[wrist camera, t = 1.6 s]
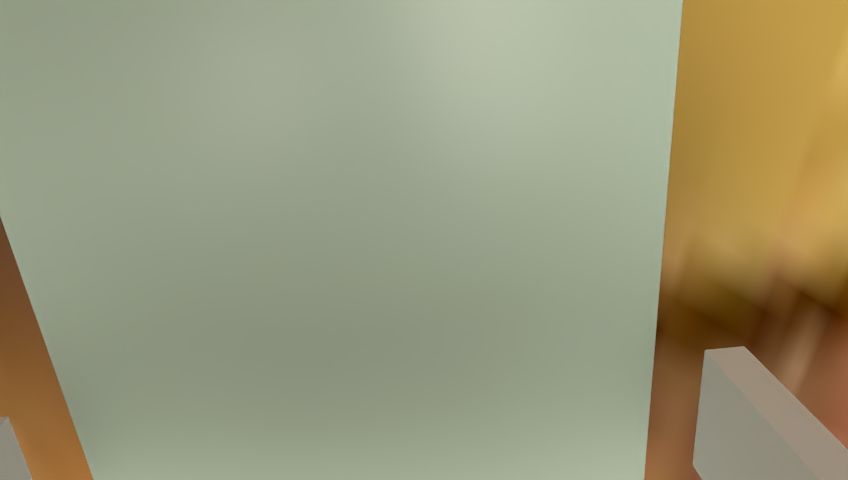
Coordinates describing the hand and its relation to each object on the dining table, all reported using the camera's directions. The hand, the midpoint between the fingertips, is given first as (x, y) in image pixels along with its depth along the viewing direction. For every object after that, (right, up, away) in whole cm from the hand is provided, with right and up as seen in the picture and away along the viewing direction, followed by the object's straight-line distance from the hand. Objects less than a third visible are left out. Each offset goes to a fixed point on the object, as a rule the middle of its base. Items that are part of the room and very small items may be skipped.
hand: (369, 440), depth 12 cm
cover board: (0, +1, +2) cm, 3 cm away
